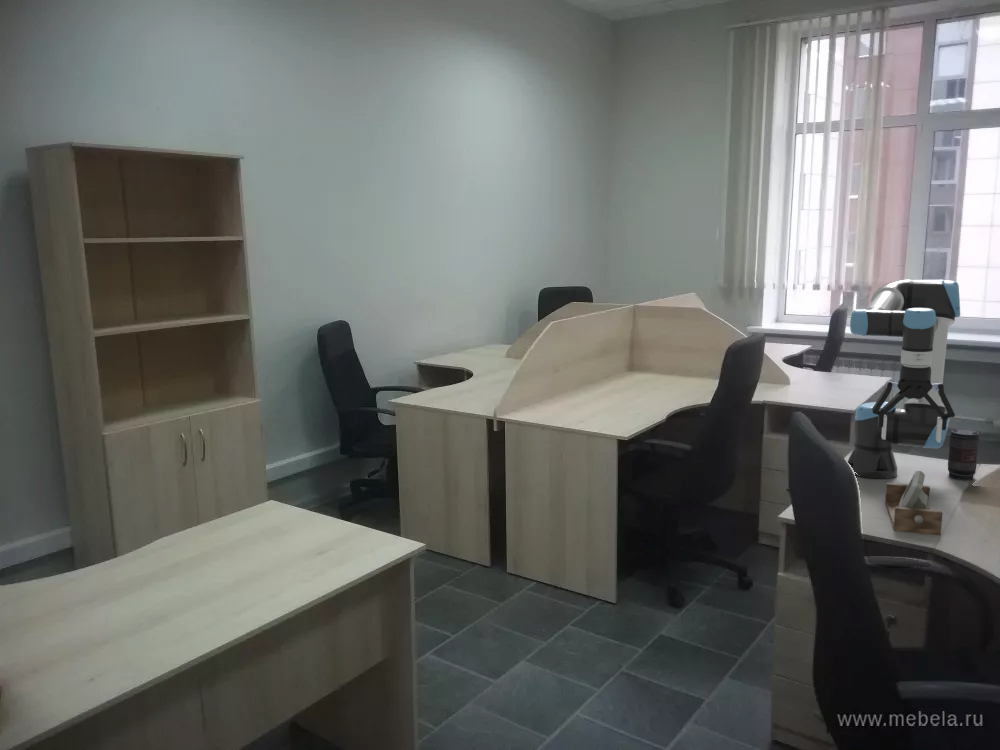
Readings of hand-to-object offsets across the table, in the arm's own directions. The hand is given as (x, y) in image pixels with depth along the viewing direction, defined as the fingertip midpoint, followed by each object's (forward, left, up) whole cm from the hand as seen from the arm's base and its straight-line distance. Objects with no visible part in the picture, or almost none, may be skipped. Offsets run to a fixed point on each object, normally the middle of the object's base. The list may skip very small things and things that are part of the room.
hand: (910, 439), depth 214 cm
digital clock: (+3, +2, -20) cm, 21 cm away
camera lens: (-44, +1, -22) cm, 49 cm away
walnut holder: (+3, +3, -21) cm, 22 cm away
